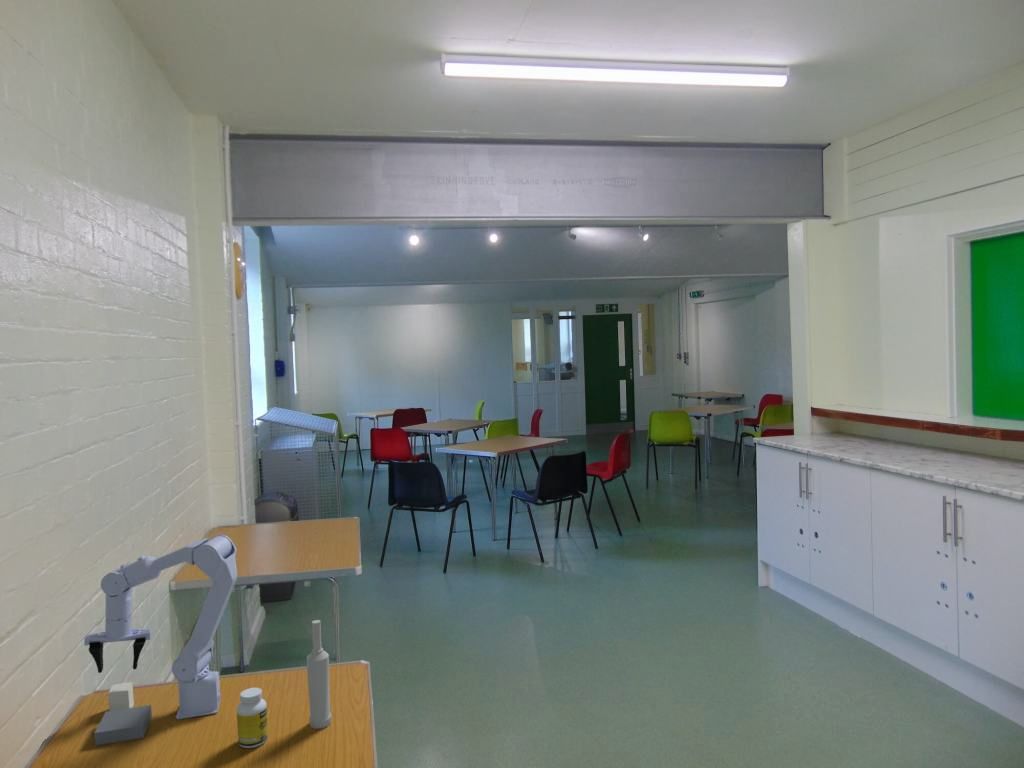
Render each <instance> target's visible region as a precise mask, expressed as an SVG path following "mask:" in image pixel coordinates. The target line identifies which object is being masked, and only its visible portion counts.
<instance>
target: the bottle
mask: <svg viewBox="0 0 1024 768" xmlns="http://www.w3.org/2000/svg"><path fill="white" fill-rule="evenodd" d="M321 625H322V623H321V620H320V619H315V620H312V621H311V631H312V635H311V636H312V649H311V652H310V653H309V654H308V655H307V656H306V669H307V670H306V671H307V684H308V685H307V687H308V700H309V717H308V719H309V720H308V721H309V725H310V727H311V728H312V729H315V730H320V729H324V728H327V727H328V726H330V724H331V723H332V712H331V707H330V706H331V705H330V704H331V702H330V701H331V698H330V696H331V695H330V654H329V653H328V652H327V651H325V650H324V648H323V647H322V626H321Z"/></svg>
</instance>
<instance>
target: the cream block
mask: <svg viewBox="0 0 1024 768" xmlns="http://www.w3.org/2000/svg"><path fill="white" fill-rule="evenodd" d="M133 686H134V685H133V681H130V682H123V683H116V684H112V685H111V687H110V689H109V691H108V692H107V699H108V711H114V710H121V709H127V708H134V705H135V700H134V687H133Z"/></svg>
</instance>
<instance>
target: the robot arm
mask: <svg viewBox="0 0 1024 768" xmlns="http://www.w3.org/2000/svg"><path fill="white" fill-rule="evenodd" d="M237 550H238V548H237V547H236V545H235V544H234V542H233V541H232V539H231V538H230V537H229V536H227V535H225V534H216V535H213V537H212V538H211V537H206V538H203V539H200V540H198V541H194V542H192V543H189V544H186V545H185V546H182V547H180V548H177V549H175V550H174V551H171V552H169V553H167V554H164V555H162V556H160V557H157V558H156V557H154V556H152V555H149V556H145V555H142V556H140V557H138V558H137V560H136V561H134V562H131V563H129V564H127V563H123V564H122V565H120V567H118V568H115V569H114V570H112V571H110V572H108V573H107V574H105V576H103V577H102V578H101V581H100V587H101V590H102V592H103V593H104V594H105V624H104V625H105V630H104V631H102V632H97V633H92V634H85V636H84V642H83V643H84V646H88V652H89V653H90V655H91V656H92V658H93V660H94V662H95V665H96V668H97V671H98V672H97V673H98V674H100V673H102V672H103V670H104V654H103V653H104V643H115V642H126V641H134V642H133V645H132V647H133V649H132V650H133V662H132V669H133V670H137V668H138V662H139V659H140V655H141V652H142V650H143V648H144V646H145V644H146V641H149V640H151V638H152V629H150V628H149V629H142V628H141V629H140V628H139V629H137V628H132V617H133V616H132V610H133V609H132V606H133V605H132V604H133V602H132V601H133V595H132V594H133V588H135V587H137V586H139V585H143V584H145V583H147V582H150V581H152V580H155V579H158V577H159V576H160V574H161V572H162V571H164V570H166V569H169V568H172V567H175V566H178V565H180V564H183V563H188V564H189V565H190V566H194V565H195V567H197V568H198V569H199V570H200V571H201V572H202V573H204V574H205V576H207V577H208V579H210V580H211V582H212V583H211V586H210V588H209V591H208V593H207V596H206V599H205V601H204V604H203V606H202V609H201V611H200V613H199V615H198V619H197V621H196V624H195V625H194V629H193V630H192V634H191V636H190V638H189V640H188V641H187V643H186V645H185V646H184V648H183V649H182V651H181V653H180V655H179V656H178V657H177V658H176V659H175V660H174V661H173V663H172V665H171V672H172V675H173V677H174V679H176V680H177V686H178V704H179V705H178V706H179V708H178V710H177V712H176V715H175V720H184V719H189V718H195V717H201V716H202V717H203V716H207V715H213V714H214V715H215V714H217V713H218V712H219V707H220V703H221V699H222V697H221V687H220V686H221V685H220V672H219V671H212V670H210V663H211V661H212V660H213V656H214V652H213V650H214V645H215V641H214V637H215V634H216V632H217V630H218V627H219V624H220V623H221V620H222V617H223V615H224V612H225V610H226V607H227V605H228V602H229V601H230V598H231V595H232V592H233V590H234V587H235V586H236V583H237V580H238V569H237V562H236V561H237V560H236V554H237Z"/></svg>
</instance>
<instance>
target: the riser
mask: <svg viewBox="0 0 1024 768" xmlns="http://www.w3.org/2000/svg"><path fill="white" fill-rule="evenodd" d="M152 717H153V715H152V704H148V705H142V706H135V707H134V706H133V707H132V708H127V709H121V710H114V711H109V710H108V711H105V712H104V714H103V716H102V718H101V720H100V722H99V723H98V726H97V727H96V729H95V731H94V733H93V735H94V746H95V747H97V746H102V745H109V744H115V743H119V742H120V743H122V742H126V741H133V740H140V739H144V737H145V734H146V732H147V729H148V727H149V725H150V722H151V720H152Z"/></svg>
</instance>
